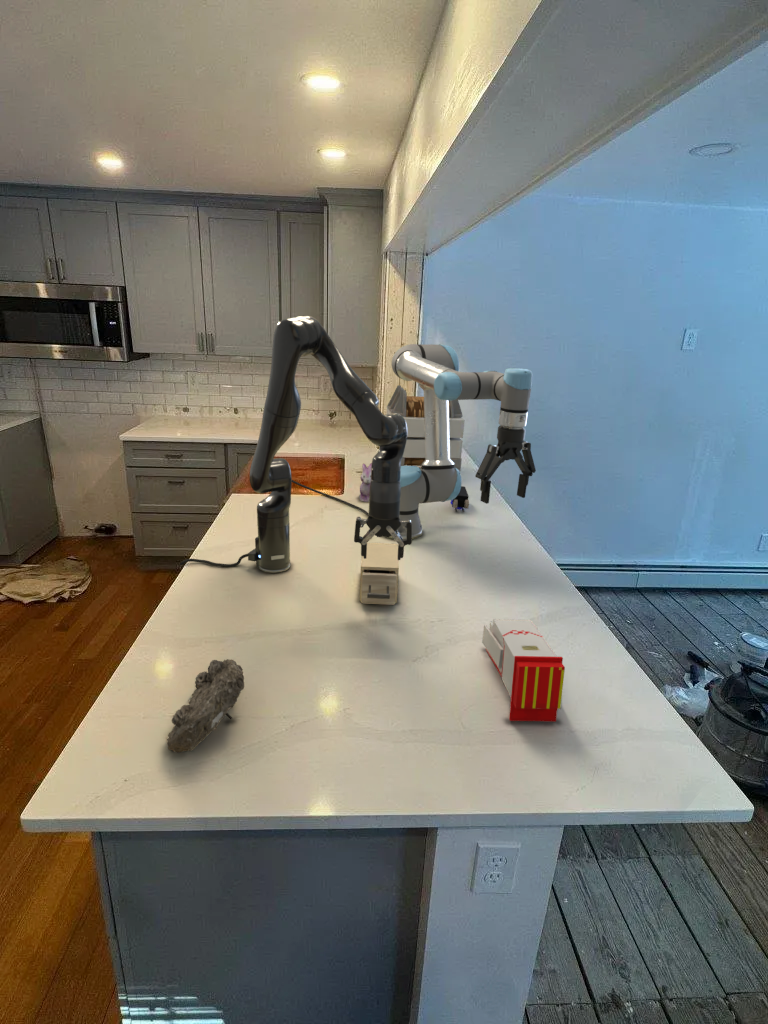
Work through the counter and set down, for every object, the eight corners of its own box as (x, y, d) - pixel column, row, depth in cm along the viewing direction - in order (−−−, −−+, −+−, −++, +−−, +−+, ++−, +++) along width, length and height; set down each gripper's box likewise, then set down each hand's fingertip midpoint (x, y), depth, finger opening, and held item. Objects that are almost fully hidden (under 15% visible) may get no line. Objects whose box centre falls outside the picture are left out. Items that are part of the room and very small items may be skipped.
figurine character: (469, 517, 223) (463, 501, 236) (471, 500, 219) (465, 484, 233) (452, 516, 222) (447, 500, 236) (454, 499, 219) (449, 483, 232)
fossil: (192, 660, 117) (244, 628, 112) (224, 691, 120) (276, 661, 115) (142, 746, 98) (202, 712, 93) (182, 779, 101) (242, 748, 96)
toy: (529, 604, 135) (573, 663, 106) (524, 656, 138) (566, 727, 109) (478, 603, 135) (509, 662, 105) (474, 655, 137) (503, 727, 108)
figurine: (363, 503, 228) (365, 467, 223) (353, 496, 237) (354, 461, 232) (384, 501, 233) (386, 465, 227) (373, 493, 241) (374, 459, 236)
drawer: (395, 616, 145) (396, 586, 142) (360, 614, 145) (361, 584, 142) (394, 579, 164) (395, 552, 161) (363, 577, 164) (364, 551, 161)
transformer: (382, 463, 289) (386, 382, 275) (445, 464, 293) (451, 384, 279) (390, 482, 257) (394, 392, 243) (460, 483, 261) (468, 394, 247)
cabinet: (396, 603, 153) (398, 568, 149) (359, 601, 153) (360, 566, 149) (396, 576, 168) (397, 543, 165) (362, 574, 168) (363, 542, 165)
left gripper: (354, 500, 134) (352, 563, 139) (414, 503, 134) (410, 565, 139) (356, 491, 141) (354, 551, 146) (413, 493, 141) (409, 553, 146)
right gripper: (485, 432, 147) (476, 508, 155) (554, 426, 159) (544, 497, 167) (467, 426, 154) (460, 500, 161) (536, 421, 165) (526, 490, 173)
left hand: (382, 558), depth 143 cm, fingers open, 8 cm apart
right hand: (503, 499), depth 164 cm, fingers open, 13 cm apart
